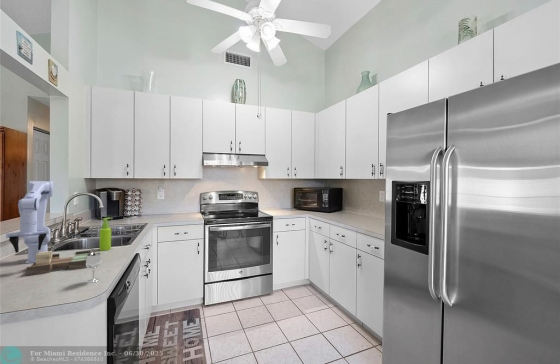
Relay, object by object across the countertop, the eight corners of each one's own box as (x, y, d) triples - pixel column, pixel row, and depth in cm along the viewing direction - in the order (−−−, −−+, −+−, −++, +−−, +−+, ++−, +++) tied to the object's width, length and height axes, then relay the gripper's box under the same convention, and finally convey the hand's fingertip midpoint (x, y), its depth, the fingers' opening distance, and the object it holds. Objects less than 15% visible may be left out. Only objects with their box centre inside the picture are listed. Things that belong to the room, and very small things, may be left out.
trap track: (39, 262, 129) (39, 254, 129) (93, 256, 141) (93, 248, 141) (26, 275, 113) (26, 266, 113) (88, 267, 125) (88, 258, 125)
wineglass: (91, 278, 112) (91, 252, 112) (104, 278, 113) (104, 252, 113) (82, 283, 107) (82, 256, 106) (95, 283, 107) (96, 256, 107)
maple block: (39, 261, 124) (39, 252, 124) (52, 260, 127) (52, 250, 126) (35, 265, 120) (35, 254, 120) (49, 263, 122) (49, 253, 122)
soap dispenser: (114, 248, 158) (115, 217, 157) (103, 251, 151) (104, 219, 151) (108, 247, 160) (108, 216, 159) (97, 250, 153) (97, 218, 153)
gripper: (4, 225, 111) (3, 255, 111) (48, 222, 120) (47, 250, 120) (8, 223, 116) (8, 251, 116) (50, 220, 125) (49, 247, 125)
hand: (28, 250), depth 118 cm, fingers open, 7 cm apart
